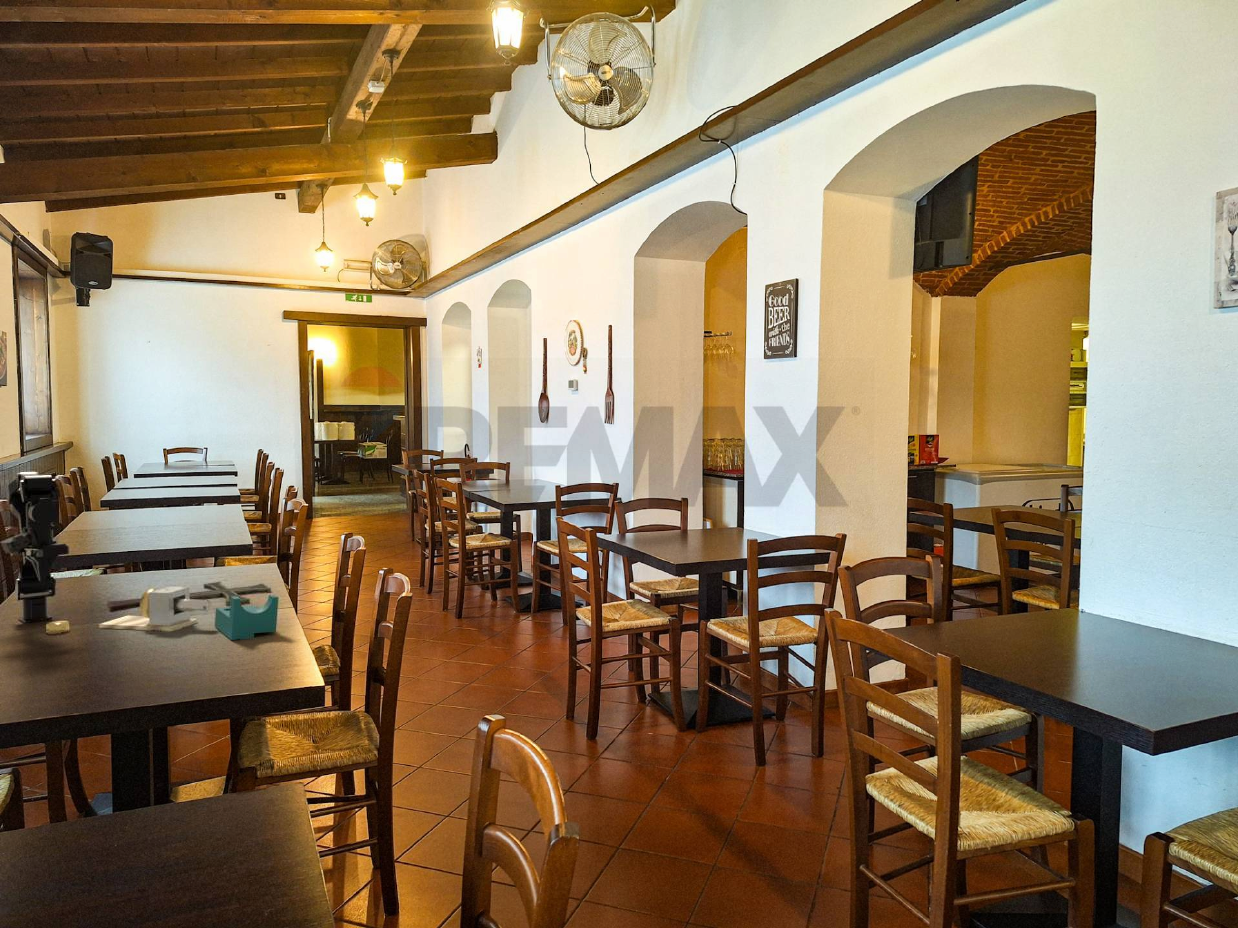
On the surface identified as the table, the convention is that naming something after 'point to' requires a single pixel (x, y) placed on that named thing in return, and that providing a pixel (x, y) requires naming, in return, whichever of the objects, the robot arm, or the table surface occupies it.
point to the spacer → (57, 627)
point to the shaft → (176, 604)
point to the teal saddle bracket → (246, 618)
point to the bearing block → (167, 606)
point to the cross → (202, 595)
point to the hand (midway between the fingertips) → (42, 580)
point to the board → (142, 624)
